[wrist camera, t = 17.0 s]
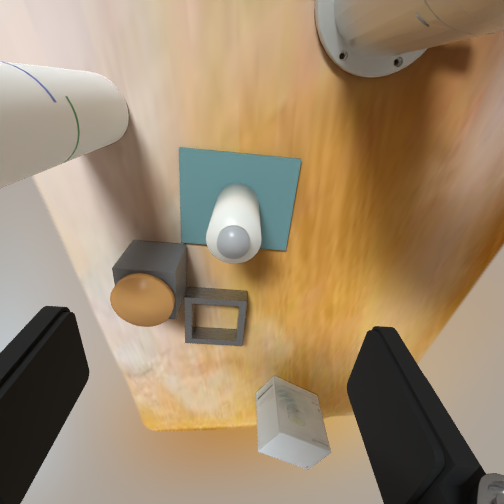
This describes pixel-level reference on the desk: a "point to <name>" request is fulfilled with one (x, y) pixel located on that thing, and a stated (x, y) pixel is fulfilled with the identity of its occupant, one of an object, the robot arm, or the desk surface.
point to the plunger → (142, 300)
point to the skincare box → (290, 424)
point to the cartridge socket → (214, 298)
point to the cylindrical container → (54, 117)
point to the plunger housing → (156, 266)
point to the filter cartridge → (235, 225)
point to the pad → (237, 171)
